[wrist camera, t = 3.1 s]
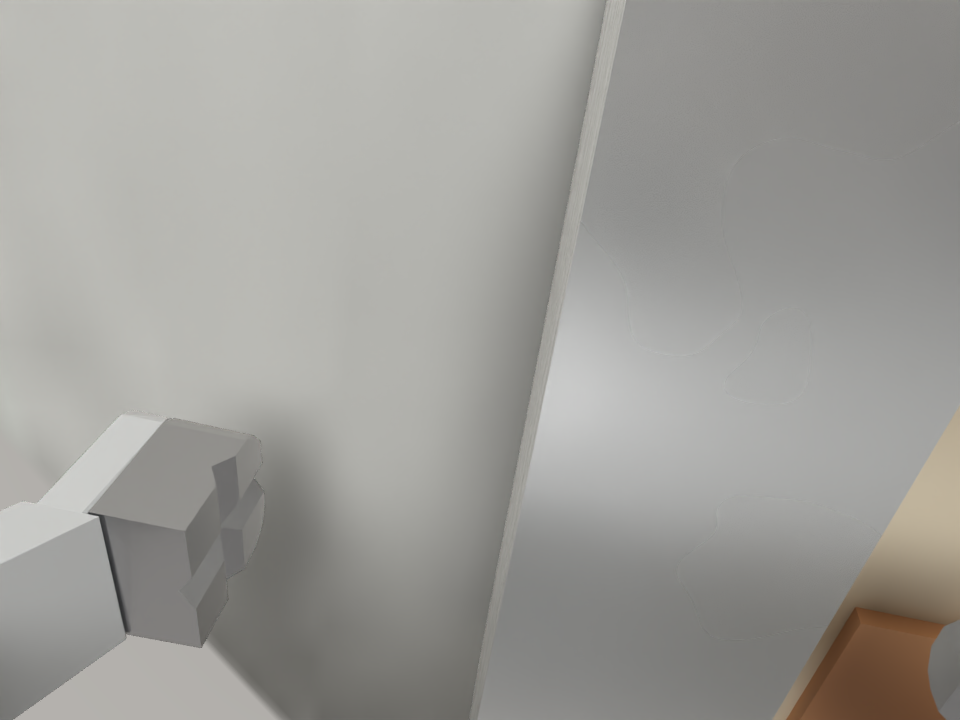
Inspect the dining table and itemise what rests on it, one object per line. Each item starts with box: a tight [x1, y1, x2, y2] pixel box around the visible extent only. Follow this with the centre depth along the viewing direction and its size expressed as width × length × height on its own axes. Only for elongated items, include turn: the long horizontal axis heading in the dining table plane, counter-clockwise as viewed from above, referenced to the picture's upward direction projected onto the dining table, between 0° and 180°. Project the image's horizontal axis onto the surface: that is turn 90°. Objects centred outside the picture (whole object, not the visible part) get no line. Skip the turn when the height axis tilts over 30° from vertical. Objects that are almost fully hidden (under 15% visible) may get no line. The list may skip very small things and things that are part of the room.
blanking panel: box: [469, 0, 960, 720], centre depth 9 cm, size 12×2×6 cm, turn 173°
